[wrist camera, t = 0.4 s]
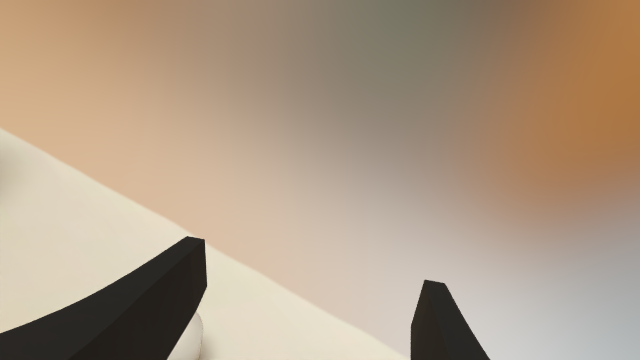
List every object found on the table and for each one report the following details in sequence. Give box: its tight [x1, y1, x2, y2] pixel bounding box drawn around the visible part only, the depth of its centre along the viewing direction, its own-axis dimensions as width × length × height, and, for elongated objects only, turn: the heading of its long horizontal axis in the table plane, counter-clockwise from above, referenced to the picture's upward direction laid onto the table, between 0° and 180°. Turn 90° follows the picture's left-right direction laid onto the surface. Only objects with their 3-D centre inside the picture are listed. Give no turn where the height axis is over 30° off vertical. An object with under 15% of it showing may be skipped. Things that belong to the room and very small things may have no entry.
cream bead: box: [167, 312, 203, 360], centre depth 28 cm, size 4×4×5 cm
